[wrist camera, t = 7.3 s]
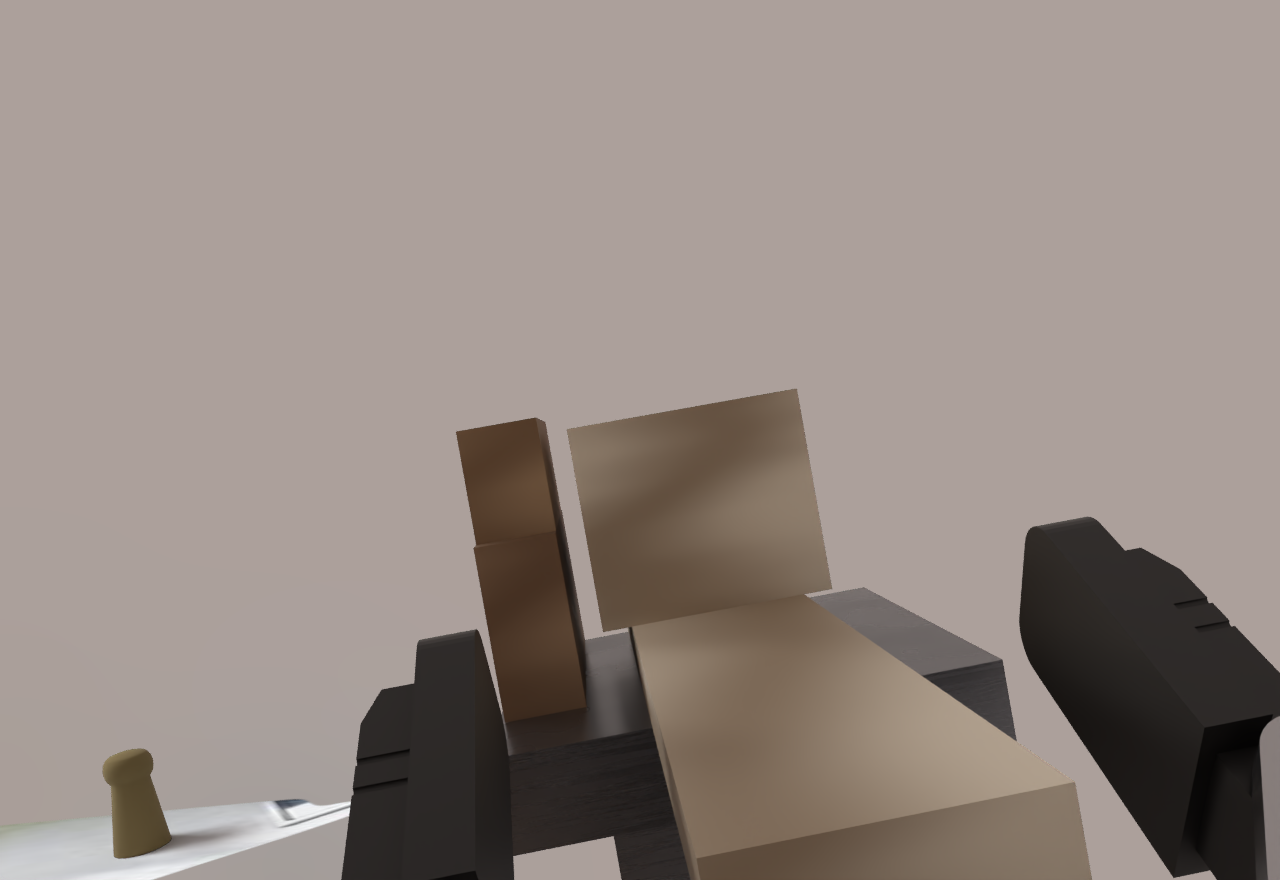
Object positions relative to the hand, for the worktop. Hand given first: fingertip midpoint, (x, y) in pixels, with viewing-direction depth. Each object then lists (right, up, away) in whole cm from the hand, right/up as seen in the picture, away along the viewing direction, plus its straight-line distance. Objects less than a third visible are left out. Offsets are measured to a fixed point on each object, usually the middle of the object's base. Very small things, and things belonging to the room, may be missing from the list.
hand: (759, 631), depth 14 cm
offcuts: (-3, -2, +7) cm, 8 cm away
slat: (0, -2, +3) cm, 3 cm away
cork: (-58, -44, +108) cm, 130 cm away
